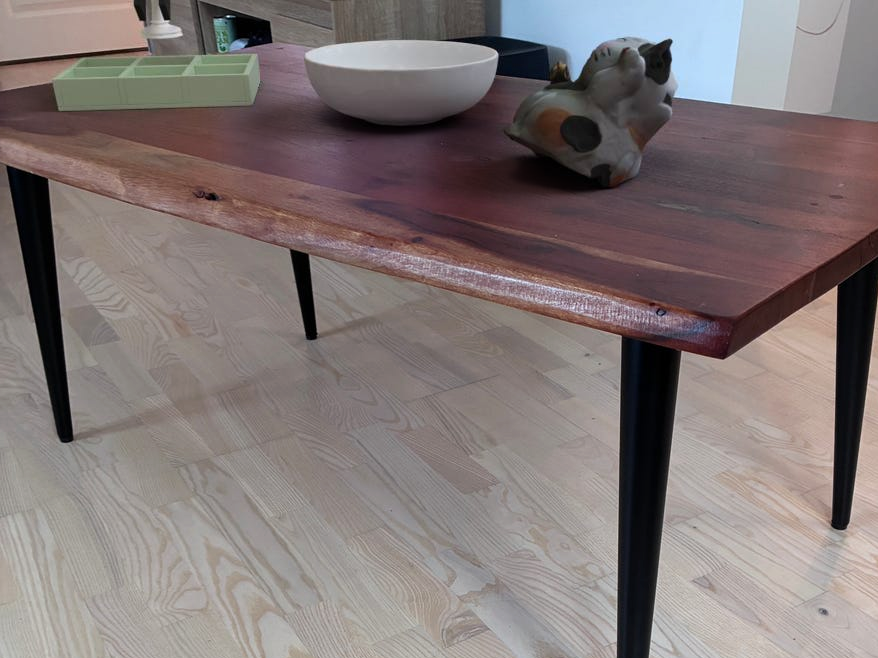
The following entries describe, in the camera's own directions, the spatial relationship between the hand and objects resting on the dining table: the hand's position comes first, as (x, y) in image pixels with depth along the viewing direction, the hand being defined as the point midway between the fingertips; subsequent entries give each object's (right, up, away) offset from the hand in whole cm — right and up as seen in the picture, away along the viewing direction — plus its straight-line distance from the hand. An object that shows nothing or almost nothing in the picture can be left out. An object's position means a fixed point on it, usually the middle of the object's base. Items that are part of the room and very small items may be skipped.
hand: (152, 12), depth 108 cm
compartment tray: (0, -8, +5) cm, 9 cm away
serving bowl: (+30, -14, -5) cm, 34 cm away
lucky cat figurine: (+48, -25, -24) cm, 59 cm away
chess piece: (-1, -1, +5) cm, 5 cm away
